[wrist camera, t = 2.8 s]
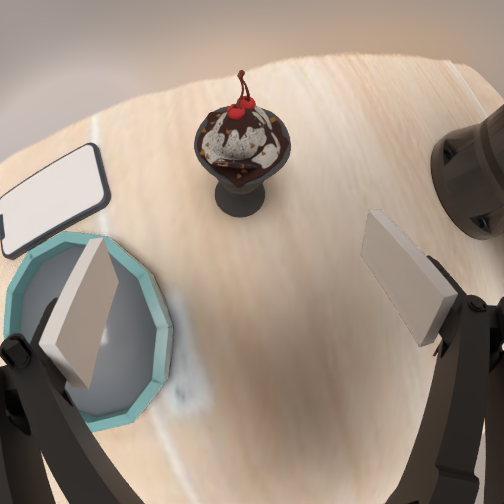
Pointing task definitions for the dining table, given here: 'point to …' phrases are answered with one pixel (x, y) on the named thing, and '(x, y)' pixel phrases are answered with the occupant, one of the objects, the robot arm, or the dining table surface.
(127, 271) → the round tray
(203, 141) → the sundae
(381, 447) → the dining table surface
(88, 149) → the smartphone
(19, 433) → the robot arm
